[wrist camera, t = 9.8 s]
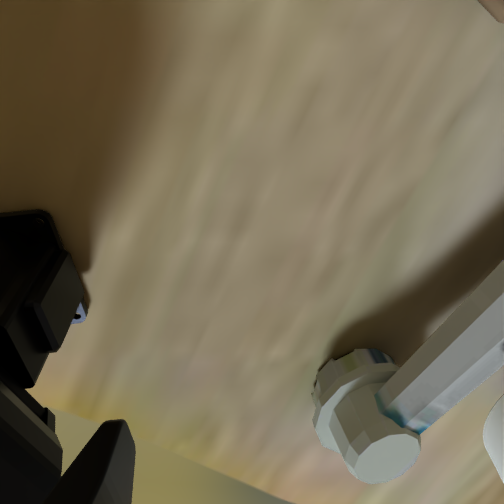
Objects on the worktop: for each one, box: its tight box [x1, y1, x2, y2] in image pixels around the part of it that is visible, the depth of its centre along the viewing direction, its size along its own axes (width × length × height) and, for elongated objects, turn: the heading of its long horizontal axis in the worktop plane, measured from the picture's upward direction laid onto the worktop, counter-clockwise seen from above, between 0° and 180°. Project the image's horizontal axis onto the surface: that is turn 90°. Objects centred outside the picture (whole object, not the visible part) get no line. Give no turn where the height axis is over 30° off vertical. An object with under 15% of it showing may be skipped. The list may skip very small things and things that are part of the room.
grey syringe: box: [311, 260, 504, 484], centre depth 22 cm, size 5×7×25 cm
